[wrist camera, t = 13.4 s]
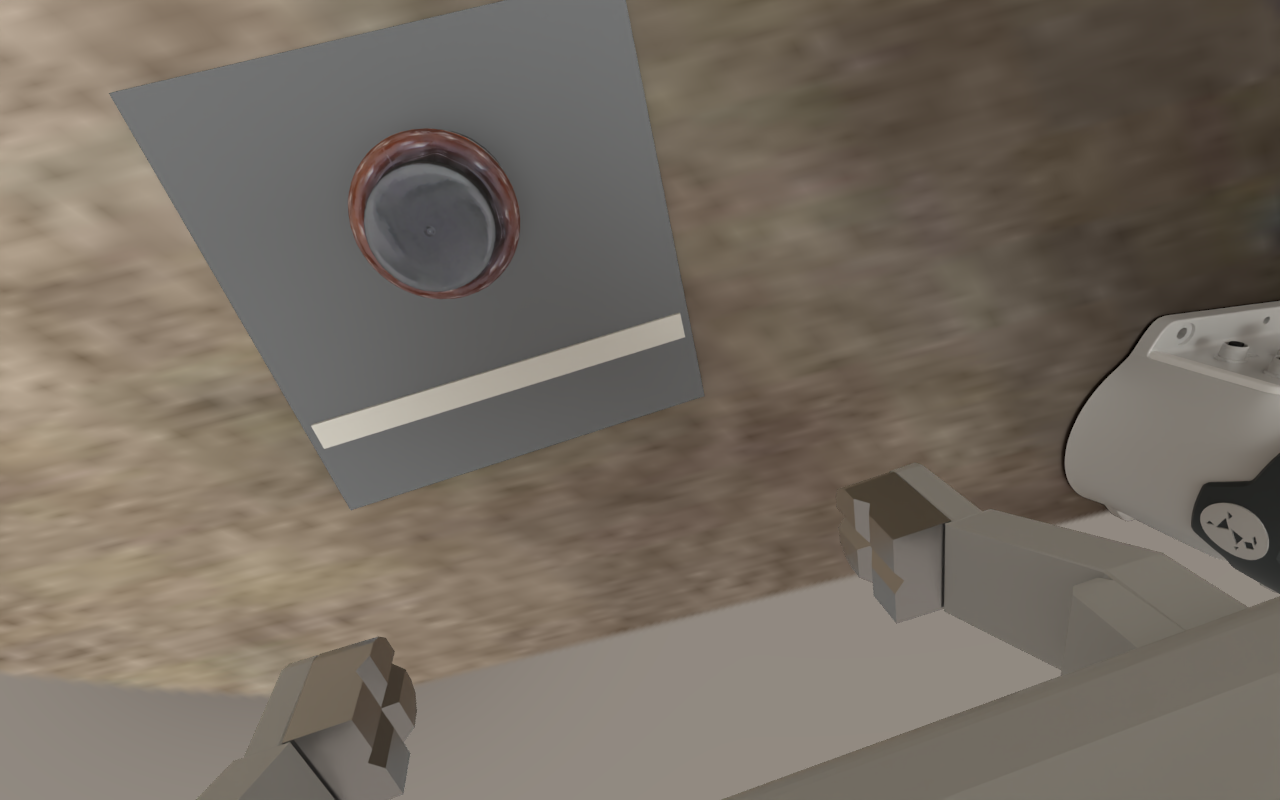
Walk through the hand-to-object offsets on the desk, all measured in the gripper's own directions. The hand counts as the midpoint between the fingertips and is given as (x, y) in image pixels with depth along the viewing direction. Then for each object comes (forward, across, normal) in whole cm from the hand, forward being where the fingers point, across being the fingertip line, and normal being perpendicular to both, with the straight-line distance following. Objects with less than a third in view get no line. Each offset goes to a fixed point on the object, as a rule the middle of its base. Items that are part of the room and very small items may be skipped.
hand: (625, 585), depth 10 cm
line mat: (+24, -4, +2) cm, 24 cm away
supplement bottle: (+23, -3, +6) cm, 24 cm away
